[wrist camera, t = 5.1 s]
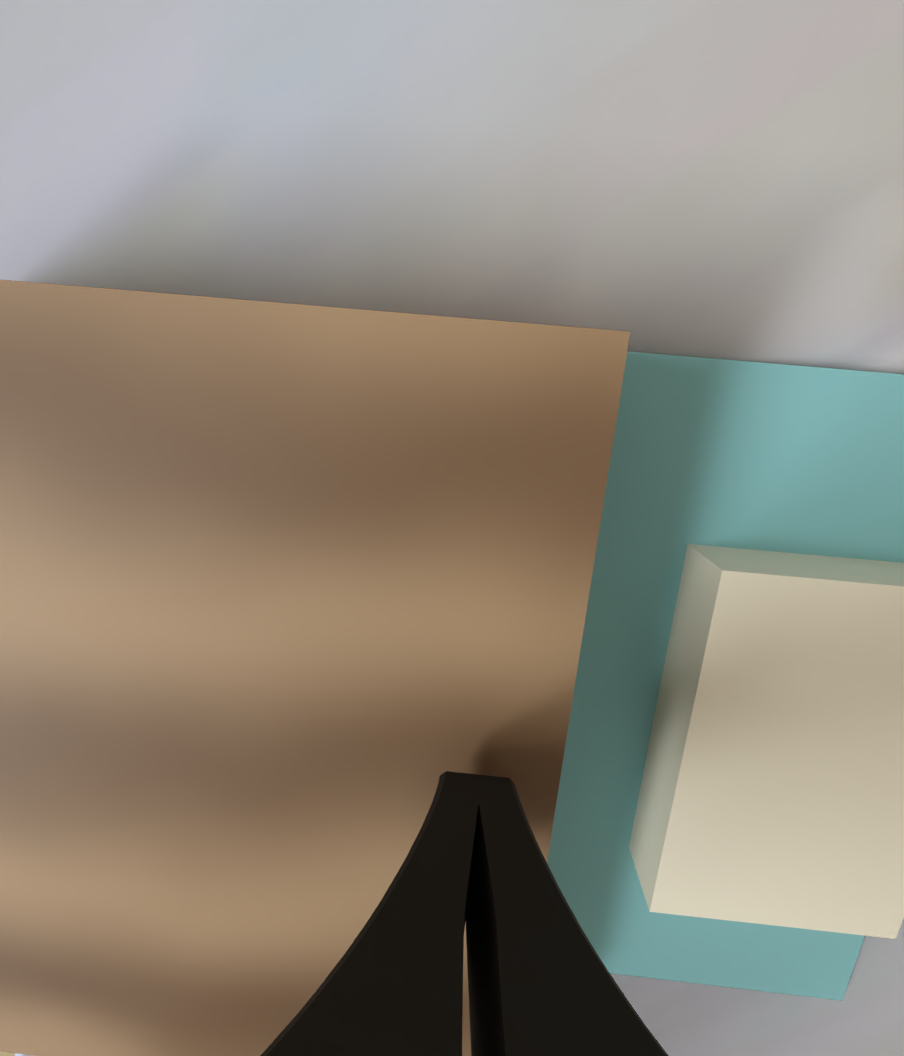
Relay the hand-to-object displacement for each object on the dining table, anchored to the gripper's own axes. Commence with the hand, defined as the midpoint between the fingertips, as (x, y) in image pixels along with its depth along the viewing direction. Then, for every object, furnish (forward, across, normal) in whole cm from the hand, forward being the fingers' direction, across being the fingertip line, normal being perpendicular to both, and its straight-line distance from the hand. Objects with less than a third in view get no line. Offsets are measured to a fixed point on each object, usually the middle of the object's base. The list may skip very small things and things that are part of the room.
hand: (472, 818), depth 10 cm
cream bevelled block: (+2, -8, 0) cm, 8 cm away
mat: (+5, -7, 0) cm, 8 cm away
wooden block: (+5, +5, 0) cm, 7 cm away
